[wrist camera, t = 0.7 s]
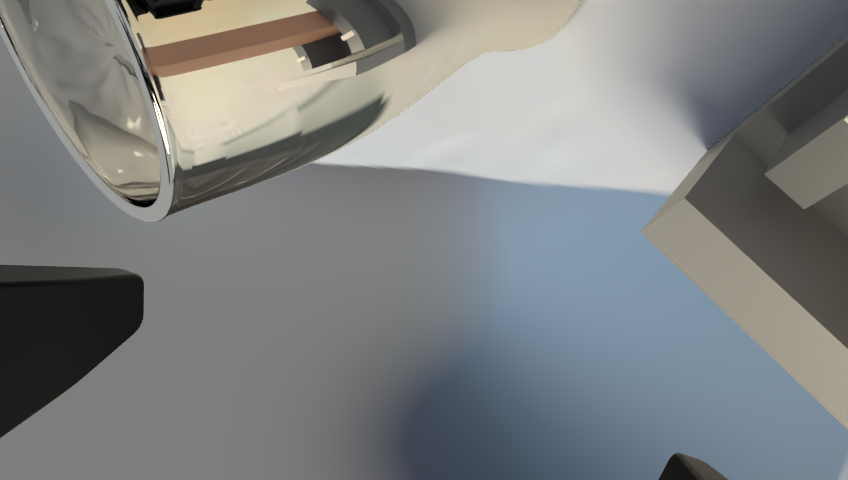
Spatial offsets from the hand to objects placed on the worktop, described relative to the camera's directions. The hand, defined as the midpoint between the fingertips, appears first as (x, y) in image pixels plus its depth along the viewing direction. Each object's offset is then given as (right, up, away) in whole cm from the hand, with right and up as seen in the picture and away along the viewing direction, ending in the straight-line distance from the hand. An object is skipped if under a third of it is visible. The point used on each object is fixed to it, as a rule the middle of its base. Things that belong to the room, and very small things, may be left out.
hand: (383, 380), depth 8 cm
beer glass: (+4, +12, +10) cm, 17 cm away
